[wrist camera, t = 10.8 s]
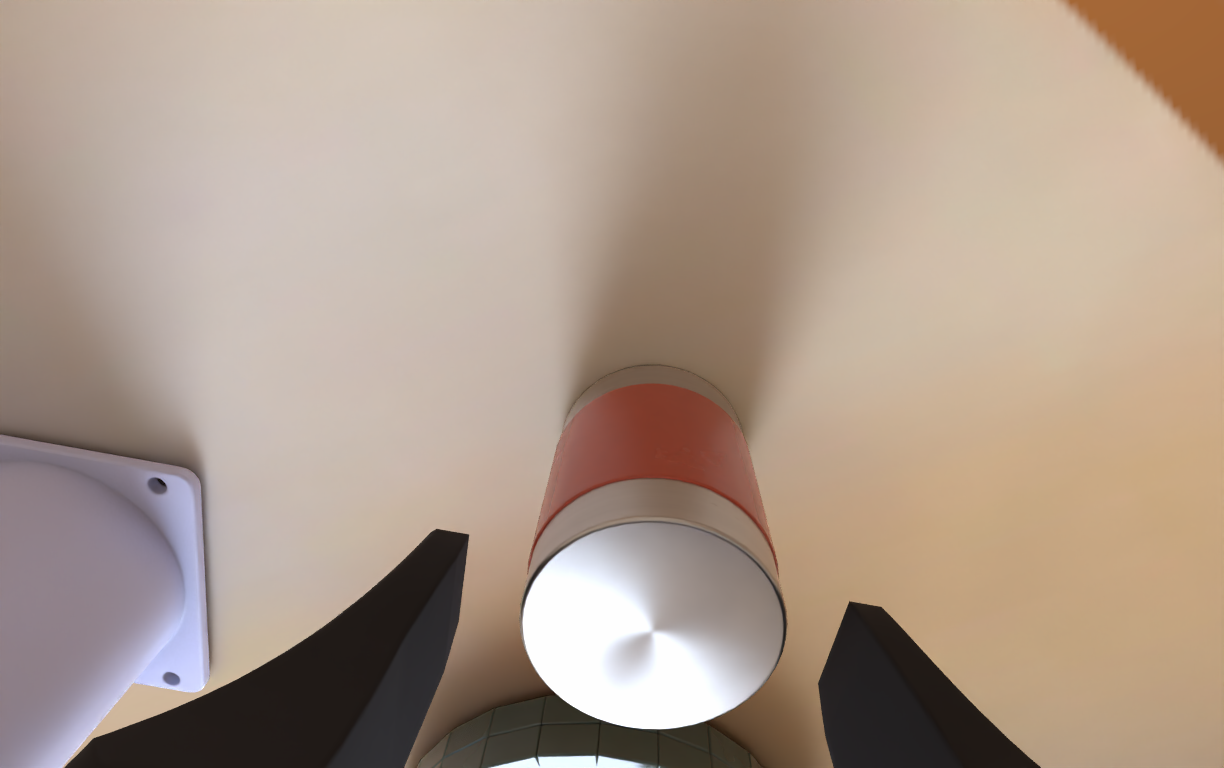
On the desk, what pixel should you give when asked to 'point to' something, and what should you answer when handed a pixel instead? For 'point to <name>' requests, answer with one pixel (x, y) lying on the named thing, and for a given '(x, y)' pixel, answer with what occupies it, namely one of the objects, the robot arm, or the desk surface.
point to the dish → (578, 742)
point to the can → (653, 557)
